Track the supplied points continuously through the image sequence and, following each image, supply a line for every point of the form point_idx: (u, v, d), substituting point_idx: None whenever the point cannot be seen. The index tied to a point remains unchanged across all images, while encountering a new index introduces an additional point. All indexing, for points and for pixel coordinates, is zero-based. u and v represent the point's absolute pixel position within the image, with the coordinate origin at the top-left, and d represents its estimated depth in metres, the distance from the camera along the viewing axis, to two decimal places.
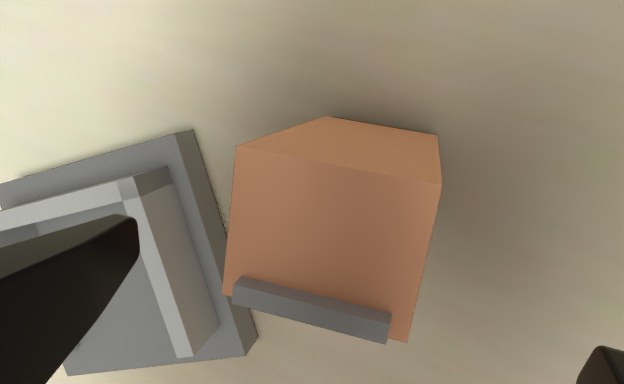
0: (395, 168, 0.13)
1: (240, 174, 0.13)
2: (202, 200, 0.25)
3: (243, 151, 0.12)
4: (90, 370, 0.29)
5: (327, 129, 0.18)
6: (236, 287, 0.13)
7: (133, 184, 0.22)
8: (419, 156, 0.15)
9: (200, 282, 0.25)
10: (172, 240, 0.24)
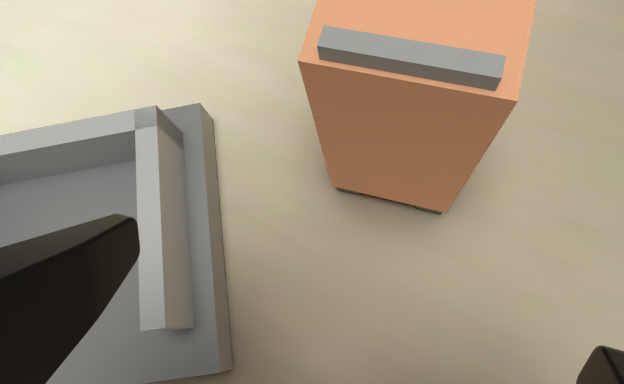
0: None
1: None
2: (209, 177, 0.23)
3: None
4: None
5: None
6: (326, 28, 0.11)
7: (153, 113, 0.20)
8: None
9: (186, 261, 0.21)
10: (172, 193, 0.20)
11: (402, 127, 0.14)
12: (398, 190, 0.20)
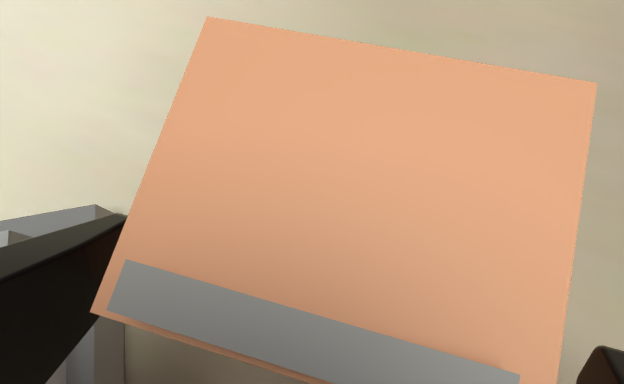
0: None
1: (201, 62, 0.07)
2: None
3: (217, 24, 0.07)
4: None
5: None
6: (132, 267, 0.05)
7: (4, 242, 0.14)
8: None
9: None
10: None
11: None
12: None
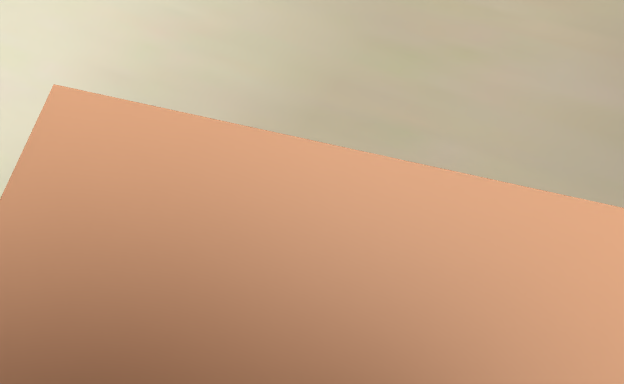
0: None
1: (38, 161, 0.04)
2: None
3: (67, 97, 0.04)
4: None
5: None
6: None
7: None
8: None
9: None
10: None
11: None
12: None
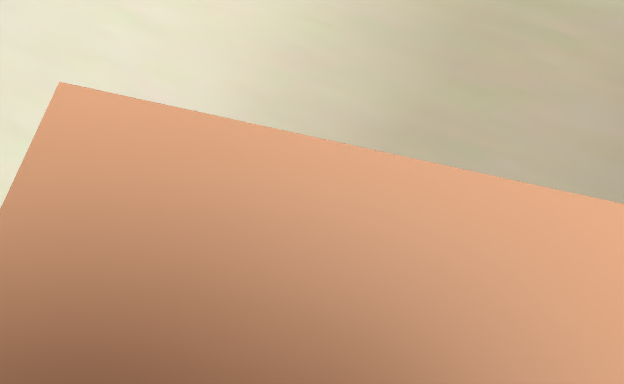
0: None
1: (44, 158, 0.04)
2: None
3: (73, 95, 0.04)
4: None
5: None
6: None
7: None
8: None
9: None
10: None
11: None
12: None
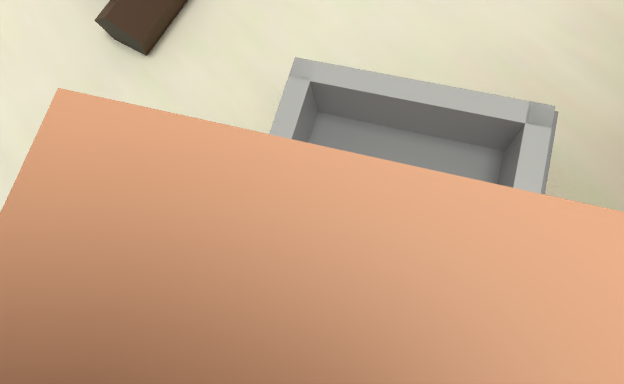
0: None
1: (43, 164, 0.04)
2: None
3: (71, 101, 0.04)
4: None
5: None
6: None
7: (549, 114, 0.18)
8: None
9: None
10: None
11: None
12: None
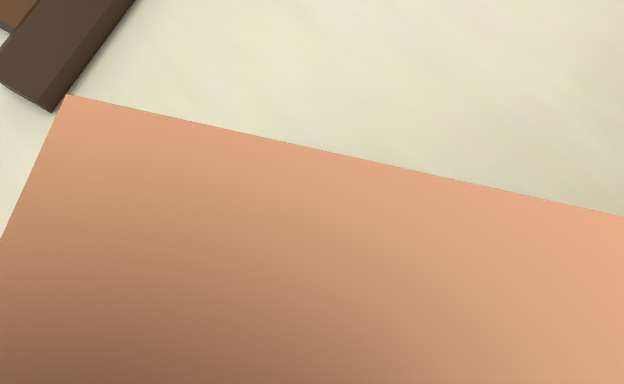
0: None
1: (51, 168, 0.04)
2: None
3: (79, 106, 0.05)
4: None
5: None
6: None
7: None
8: None
9: None
10: None
11: None
12: None
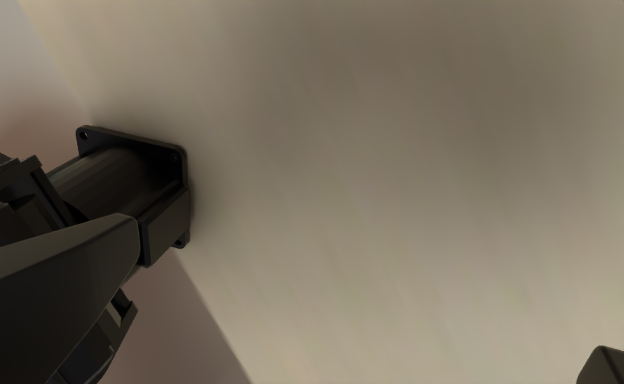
0: None
1: None
2: None
3: None
4: None
5: None
6: None
7: None
8: None
9: None
10: None
11: None
12: None
